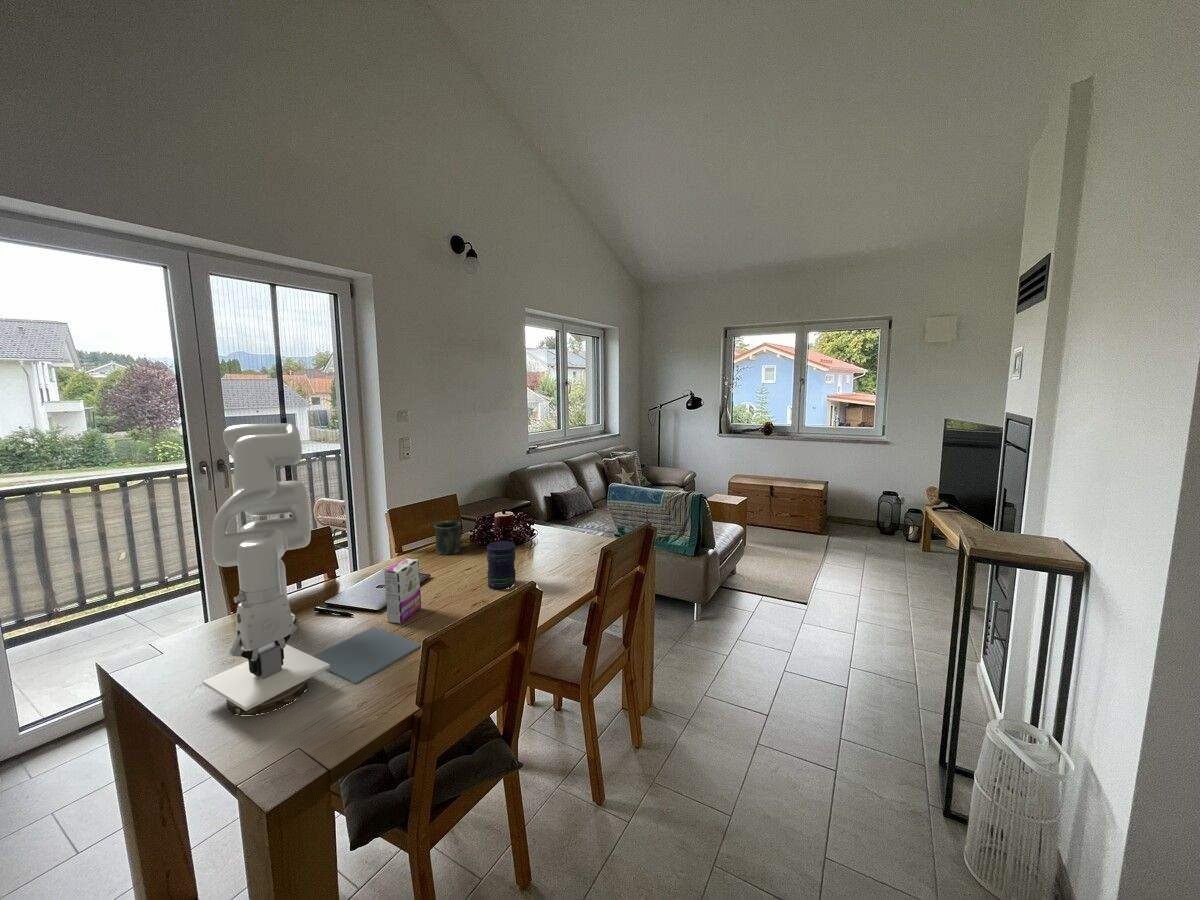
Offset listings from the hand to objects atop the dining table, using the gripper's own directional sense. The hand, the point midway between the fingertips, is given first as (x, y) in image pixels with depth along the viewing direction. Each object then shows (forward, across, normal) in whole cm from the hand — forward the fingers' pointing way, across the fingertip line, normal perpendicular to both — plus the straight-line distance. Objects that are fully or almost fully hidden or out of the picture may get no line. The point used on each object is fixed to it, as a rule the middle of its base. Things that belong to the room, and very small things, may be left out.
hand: (267, 668), depth 113 cm
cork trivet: (+7, 0, 0) cm, 7 cm away
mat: (+6, +22, -4) cm, 23 cm away
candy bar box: (+6, +42, +5) cm, 43 cm away
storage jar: (+6, +75, -6) cm, 76 cm away
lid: (+2, 0, 0) cm, 2 cm away
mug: (+7, +93, +37) cm, 100 cm away
